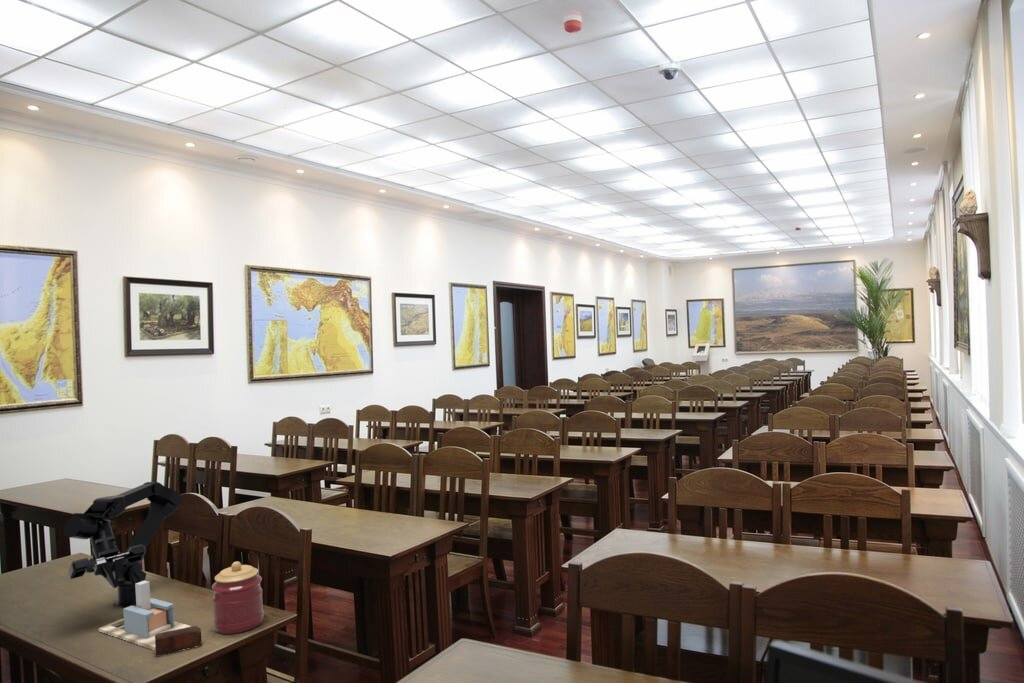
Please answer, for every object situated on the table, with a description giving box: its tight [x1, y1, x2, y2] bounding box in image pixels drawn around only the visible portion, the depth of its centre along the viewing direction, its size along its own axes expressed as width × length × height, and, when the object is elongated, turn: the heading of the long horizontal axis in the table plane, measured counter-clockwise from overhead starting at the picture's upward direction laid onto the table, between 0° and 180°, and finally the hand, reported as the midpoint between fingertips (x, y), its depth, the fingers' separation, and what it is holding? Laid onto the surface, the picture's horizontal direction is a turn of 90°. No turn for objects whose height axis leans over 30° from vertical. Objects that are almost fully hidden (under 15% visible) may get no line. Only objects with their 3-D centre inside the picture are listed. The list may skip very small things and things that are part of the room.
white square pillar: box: [135, 580, 171, 636], centre depth 181 cm, size 9×6×12 cm, turn 60°
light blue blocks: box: [123, 597, 176, 639], centre depth 181 cm, size 10×8×6 cm
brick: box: [155, 625, 202, 656], centre depth 170 cm, size 11×4×5 cm, turn 119°
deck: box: [97, 617, 192, 651], centre depth 181 cm, size 27×12×1 cm, turn 60°
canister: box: [211, 560, 265, 635], centre depth 183 cm, size 13×13×18 cm
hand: (115, 587), depth 186 cm, fingers closed
